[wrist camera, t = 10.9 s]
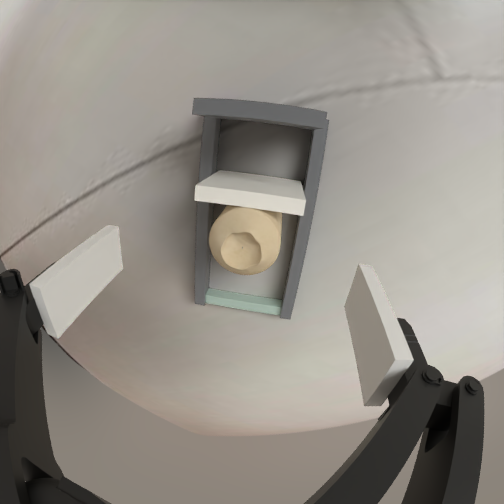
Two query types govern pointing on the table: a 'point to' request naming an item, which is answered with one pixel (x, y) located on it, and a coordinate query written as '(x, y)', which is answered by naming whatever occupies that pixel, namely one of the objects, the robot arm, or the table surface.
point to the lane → (208, 164)
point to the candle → (246, 239)
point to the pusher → (252, 192)
